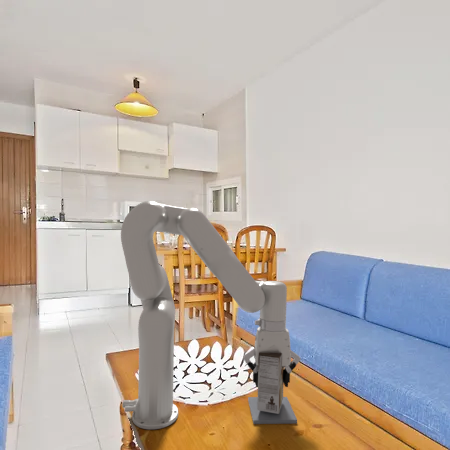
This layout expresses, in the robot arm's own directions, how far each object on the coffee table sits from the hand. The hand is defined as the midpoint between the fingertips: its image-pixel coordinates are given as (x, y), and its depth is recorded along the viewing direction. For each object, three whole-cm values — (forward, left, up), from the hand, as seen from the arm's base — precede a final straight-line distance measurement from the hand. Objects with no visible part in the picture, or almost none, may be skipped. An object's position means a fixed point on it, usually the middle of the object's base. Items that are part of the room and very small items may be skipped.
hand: (271, 384), depth 97 cm
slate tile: (0, 0, -8) cm, 8 cm away
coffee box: (0, 0, -6) cm, 6 cm away
